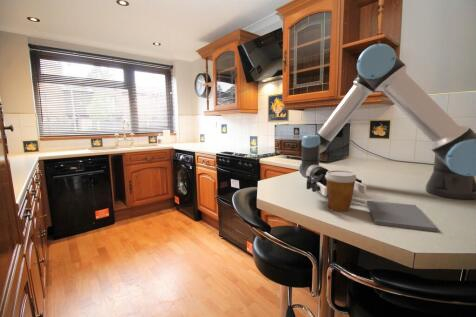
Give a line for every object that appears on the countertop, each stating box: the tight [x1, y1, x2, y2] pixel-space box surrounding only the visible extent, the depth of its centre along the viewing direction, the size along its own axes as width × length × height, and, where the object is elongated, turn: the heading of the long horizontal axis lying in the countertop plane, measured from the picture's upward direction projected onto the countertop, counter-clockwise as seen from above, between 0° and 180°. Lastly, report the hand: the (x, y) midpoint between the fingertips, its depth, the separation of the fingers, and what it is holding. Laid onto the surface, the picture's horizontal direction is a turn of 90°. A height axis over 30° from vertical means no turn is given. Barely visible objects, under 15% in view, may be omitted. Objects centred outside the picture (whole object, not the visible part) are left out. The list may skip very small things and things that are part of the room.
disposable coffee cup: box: [325, 169, 358, 213], centre depth 77 cm, size 10×10×12 cm
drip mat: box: [366, 200, 438, 233], centre depth 71 cm, size 14×18×1 cm
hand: (345, 191), depth 74 cm, fingers open, 12 cm apart
